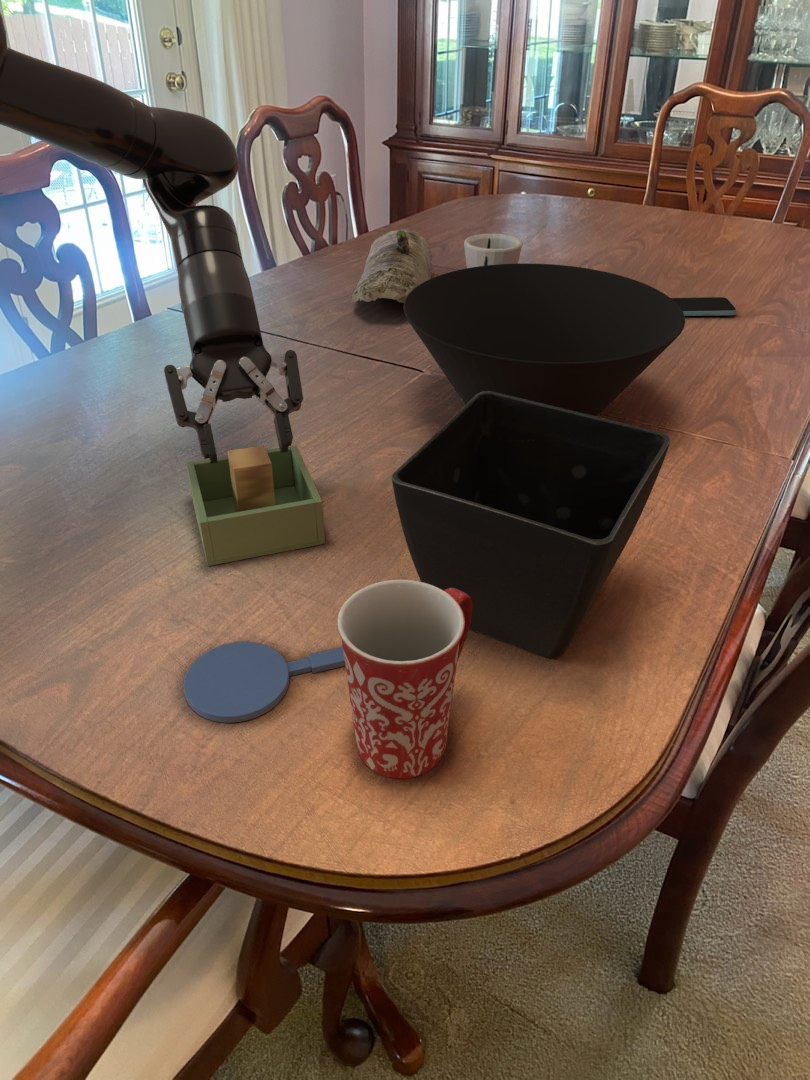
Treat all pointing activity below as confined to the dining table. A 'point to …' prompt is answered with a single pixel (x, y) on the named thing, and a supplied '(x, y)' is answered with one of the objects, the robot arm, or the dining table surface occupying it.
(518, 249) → the mug
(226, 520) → the green storage bin
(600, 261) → the dining table surface
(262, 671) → the blue ping pong paddle
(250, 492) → the wooden block
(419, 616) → the mug
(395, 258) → the log
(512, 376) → the bowl
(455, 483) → the flower pot
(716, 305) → the smartphone
